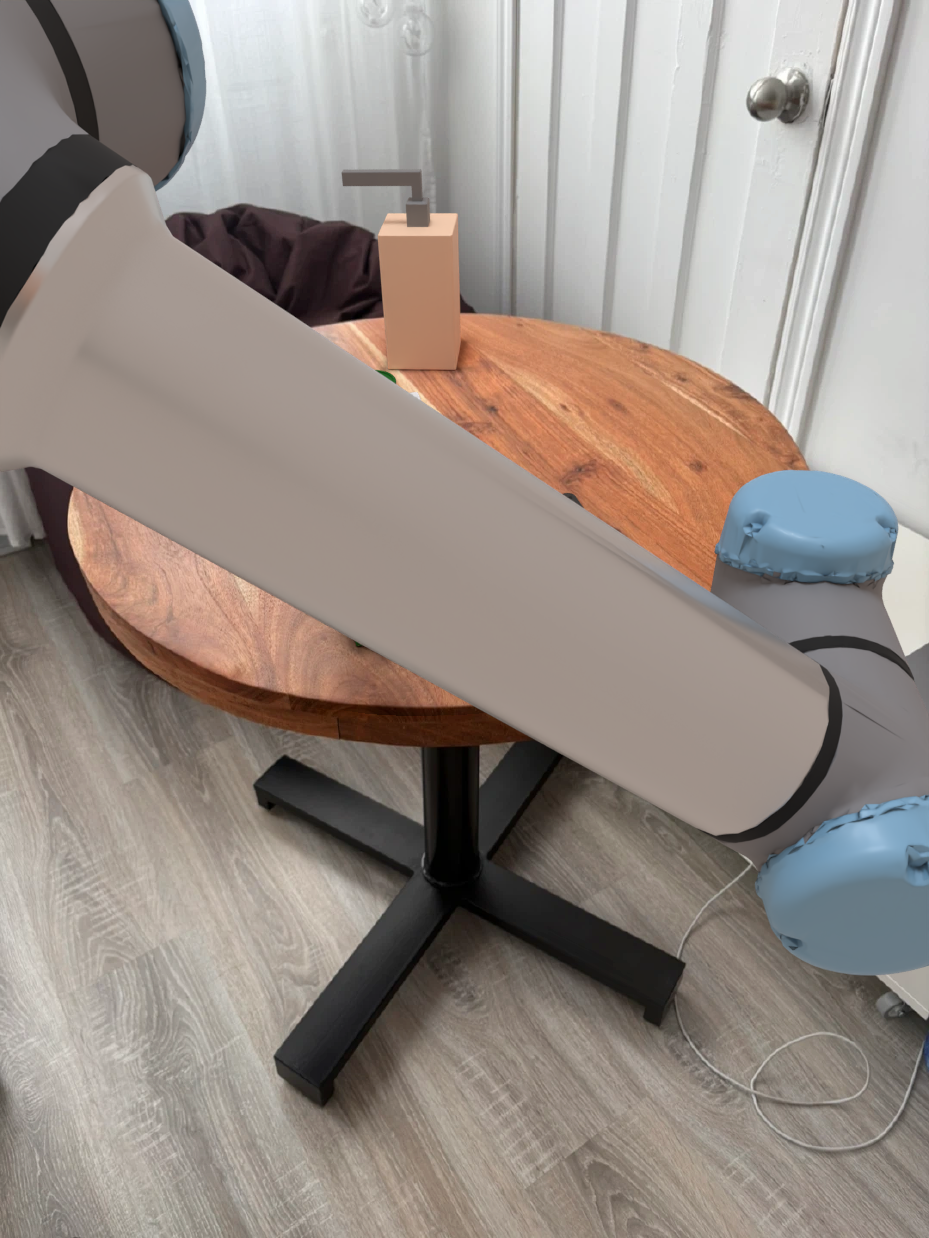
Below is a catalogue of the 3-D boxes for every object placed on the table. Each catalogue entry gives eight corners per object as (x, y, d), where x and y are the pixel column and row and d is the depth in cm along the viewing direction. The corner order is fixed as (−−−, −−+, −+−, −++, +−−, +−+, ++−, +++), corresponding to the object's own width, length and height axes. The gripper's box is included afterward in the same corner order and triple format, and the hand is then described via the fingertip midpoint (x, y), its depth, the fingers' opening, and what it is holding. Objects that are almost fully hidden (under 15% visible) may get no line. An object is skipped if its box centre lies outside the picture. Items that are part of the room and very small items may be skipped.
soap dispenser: (461, 342, 121) (456, 160, 107) (455, 370, 115) (450, 180, 101) (365, 341, 122) (348, 161, 108) (354, 369, 116) (335, 180, 102)
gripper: (470, 801, 53) (269, 628, 65) (730, 614, 65) (520, 499, 78) (468, 708, 48) (251, 540, 60) (749, 526, 61) (522, 418, 73)
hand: (402, 517), depth 69 cm, fingers open, 13 cm apart
